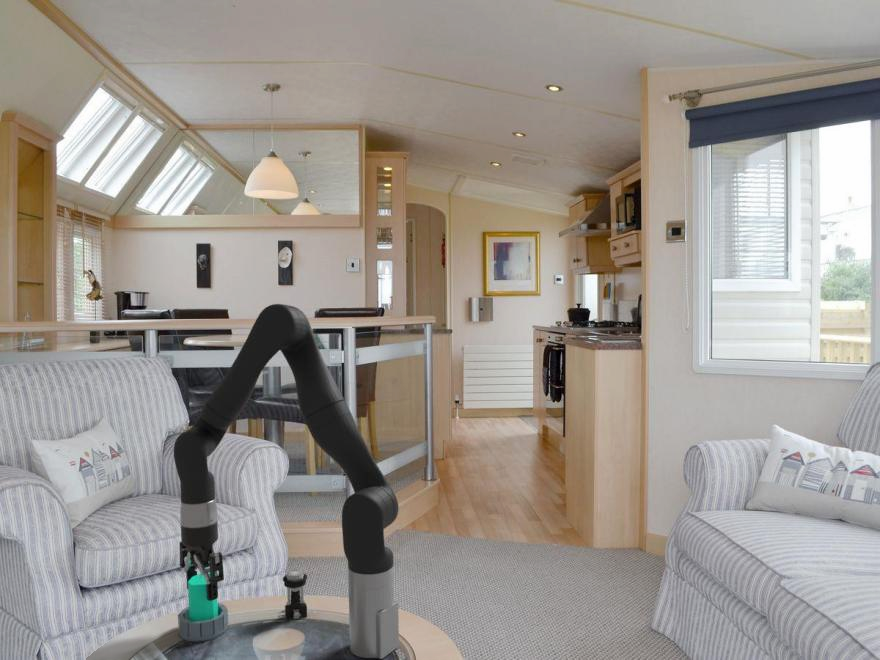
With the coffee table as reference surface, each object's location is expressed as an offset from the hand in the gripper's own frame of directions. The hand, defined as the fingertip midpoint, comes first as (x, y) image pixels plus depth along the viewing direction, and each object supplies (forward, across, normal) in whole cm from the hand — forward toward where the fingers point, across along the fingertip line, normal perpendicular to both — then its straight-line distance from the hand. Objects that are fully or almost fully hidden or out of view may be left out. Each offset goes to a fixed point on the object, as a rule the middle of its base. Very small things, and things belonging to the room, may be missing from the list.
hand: (202, 594), depth 162 cm
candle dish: (+8, 0, 0) cm, 8 cm away
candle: (+7, 0, 0) cm, 7 cm away
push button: (+8, -9, -17) cm, 21 cm away
